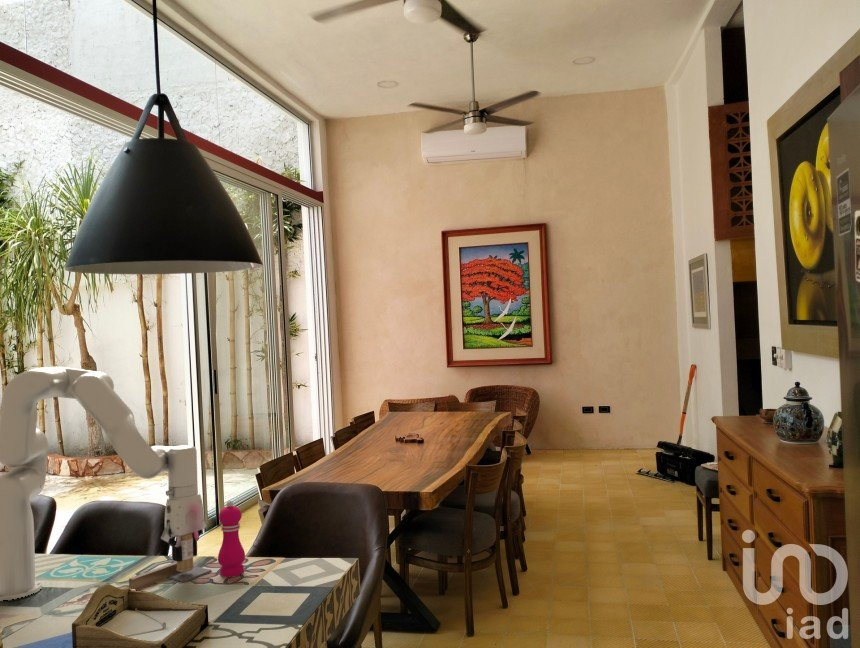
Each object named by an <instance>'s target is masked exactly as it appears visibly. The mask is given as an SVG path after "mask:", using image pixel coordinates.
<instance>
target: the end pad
mask: <svg viewBox="0 0 860 648" xmlns="http://www.w3.org/2000/svg"><path fill="white" fill-rule="evenodd" d="M193 566H194V565H193ZM210 573H212V569H209V568H205V567H199V566H194V568H193V569H192V570H190V571H186V572H178V573H176V574H173V575H170V576H168V578H167V579H170V580H174V581H178V582H182V583H187V582H190V581H191V580H194V579H197V578H199V577H202V576H205V575H207V574H210Z"/></svg>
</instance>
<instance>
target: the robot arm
mask: <svg viewBox="0 0 860 648" xmlns="http://www.w3.org/2000/svg"><path fill="white" fill-rule="evenodd" d="M114 389H115V385H114V382H113V379H112V378H111V376H109V375H108V374H107V373H105V372H103V371H100V370H99V371H98V370H97V371H96V370H88V369H87V370H86V369H80V368H78V369H77V368H71V367H64V366H43V367H42V366H41V367H36V368H32V369H28V370H25V371H23V372H21V373H19V374H17V375H16V376H14V377H13V378H11V379H10V380H9V382H8V383H7V384H6V385H5V387H4V390H3V392H2V396H1V403H0V404H1V405H0V464H1V465H3V466H5V467H8V472H4V473H3V474H1V475H0V602H4V601H3V600H8V601H13V600H12V599H14V600H18V599H17V598H19V599H22V598H21V597H23V598H25V596H26V597H29V596H32V595H34V594H36V593H38V592H39V591H41V590H42V589H43V583H42V581H40V580H36V559H35V558H36V557H35V556H36V554H35V550H36V549H35V525H34V524H35V523H34V515H33V509H32V506H31V501H32V500H34V499H36V498H37V496H39V495H40V494H41V493H42V492H43V490H44V487H45V484H46V483H45V482H46V477H47V468H48V467H47V466H48V458H49V457H48V456H49V455H48V454H49V442H48V438H47V436H46V434H45V433H44V432H43V431H42V430H41V429H39V428H37V422H38V407H37V405H38V403H39V401H42V400H47V399H52V398H53V399H54V398H64V399H73V400H75V401H77V402H78V403H79V404H80V405H81V407H82V408H83V410H85V412H87V413H88V415H89V416H90V417H91V418H92V419H93V421H94V422H95V423H96V424H97V425H98V426H99V427H100V428H101V430H102V431H103V432H104V433H105V435H106V437H107V439H108V441H109V444H111V446H112V448H113V449H114V451H115V453H116V454H117V455H118V456H119V459H120V460H122V461H123V463H124V464H125V465H126V466H127V467H128V469H130V470H131V471H132V472H133V474H135V475H136V476H138V477H140V478H142V479H145V480H146V479H147V480H149V479H153V478H156V477H157V476H158V475H160V474H161V473H163V472H166V471H167V476H168V479H167V480H168V481H167V483H168V485H167V486H168V490H166V491H165V495H166V496H167V497H168V498H166V503H165V510H164V529H163V532H162V534H161V536H160V540H162V541H164V542H166V543H167V544H168V545H169V546H170V547H171V557H172V561H173V562H177V561H178V562H180V561H182V547H181V546H180V540H181V536H183V535H186V534H189V533H192V538H193V557H196V556H198V541H199V539H200V536H201V534H202V532H203V531H204V530H205V529H206V527H207V524H206V522H205V513H204V503H203V499H202V496H201V493H199V492H198V460H197V459H198V457H197V448H196V446H194V445H191V444H181V445H180V444H179V445H176V446H171V445H170V446H168V445H166V446H165V445H151V446H150V444H149V443H148V442H147V440H146V439H145V438H143V436H142V435H141V433H140V431H139V430H138V428H137V424H136V420H135V416H134V412H133V411H132V410H131V409H130V407H129V406H128V405H127V403H125V402H124V400H123V399H122V398H121V396H119V394H118V393H117V392H116V391H115V390H114ZM40 589H41V590H40ZM33 593H34V594H33ZM31 594H32V595H31ZM28 595H29V596H28Z"/></svg>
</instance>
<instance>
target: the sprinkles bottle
mask: <svg viewBox="0 0 860 648" xmlns="http://www.w3.org/2000/svg"><path fill="white" fill-rule="evenodd" d="M180 546H181V547H182V561H180V562H178V561H176V562H177V568H176V570H177V571H179V572H186V571H190V570H192V569H193V568H194V556H193V538H192V533H189V534H186V535H183V536H181V540H180Z"/></svg>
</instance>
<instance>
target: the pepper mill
mask: <svg viewBox="0 0 860 648" xmlns="http://www.w3.org/2000/svg"><path fill="white" fill-rule="evenodd" d="M242 515H243V514H242V511H241V509H240V508H239V507H238V506H235V505H234V502H233V501H232V500H228V501H226V506H225V507H223V508H222V509H221V510H220V511H219V514H218V520H219V523H221V525H220V527H221V531H222V543H221V546H220V549H219V551H218V554H217V562H218V564H219V565H220V566H221V567H219V575H220V576H221V577H222V576H223V578H233V577H232V576H235V577H238V575H239V576H241V575H243V574H244V572H245V568H244V564H243V562H244V561H245V560H246V552H245V549H244V547H243V545H242V543H241V540H240V535H239V531H240V529H241V523H240V521H241V519H242ZM242 573H243V574H242ZM240 574H241V575H240Z"/></svg>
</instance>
